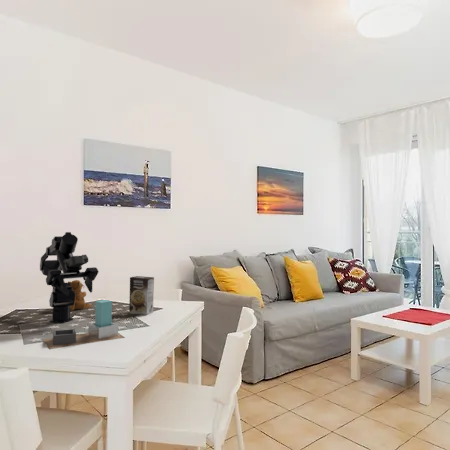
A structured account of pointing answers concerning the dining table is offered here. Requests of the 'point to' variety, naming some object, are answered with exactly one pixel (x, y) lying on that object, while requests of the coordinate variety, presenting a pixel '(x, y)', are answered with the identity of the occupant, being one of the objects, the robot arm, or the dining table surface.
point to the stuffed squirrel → (78, 296)
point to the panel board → (79, 340)
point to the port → (103, 331)
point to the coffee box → (141, 295)
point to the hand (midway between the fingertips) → (79, 293)
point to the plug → (103, 313)
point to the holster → (64, 336)
